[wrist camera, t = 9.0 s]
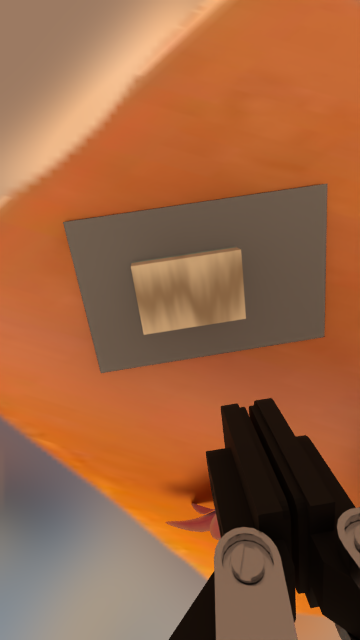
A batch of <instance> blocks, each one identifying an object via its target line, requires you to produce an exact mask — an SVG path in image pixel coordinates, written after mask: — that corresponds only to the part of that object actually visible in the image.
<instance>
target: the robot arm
mask: <svg viewBox="0 0 360 640" xmlns="http://www.w3.org/2000/svg"><path fill="white" fill-rule="evenodd" d="M221 415H222V424H223V433H224V442H225V449H219V450H213V451H206V458H207V465H208V472H209V479H210V485H211V490H212V496H213V501H214V506H215V511H216V516H217V521H218V526H219V531H220V536H221V539H220V540H219V542H218V544H217V546H216V549H215V556H214V570H215V571H214V572H213V574H212V575H211V577H210V578H209V580H208V581H207V583H206V584H205V586H204V587H203V589H202V590H201V592H200V593H199V595H198V596H197V598H196V599H195V601H194V602H193V604H192V605H191V607H190V609H189V610H188V611H187V613H186V614H185V616H184V618H183V619H182V620H181V622H180V623H179V625H178V626H177V628H176V630H175V631H174V632H173V634H172V635H171V637H170V639H169V640H298V639H297V634H296V630H295V625H294V622H295V620H296V603H295V588H296V590H297V592H298V593H299V594H300V593H305V595H306V597H307V600H308V603H309V605H310V608H314V607H320V609H321V612H322V614H323V615H324V616H326V617H327V618H329V619H330V620H331V621H333V622H334V623H335V626H336V628H337V631H338V633H339V635H340V637H341V639H342V640H360V507H359V508H355V506H354V504H353V503H352V501H351V500H350V498H349V497H348V495H347V494H346V492H345V491H344V489H343V488H342V486H341V485H340V483H339V482H338V480H337V479H336V477H335V476H334V474H333V473H332V471H331V470H330V468H329V467H328V465H327V464H326V462H325V461H324V459H323V458H322V456H321V455H320V453H319V452H318V450H317V449H316V447H315V446H314V444H313V443H312V441H311V440H310V439H309V437H308V436H306V435H304V436H298V437H295V435H294V433H293V432H292V430H291V429H290V427H289V425H288V424H287V422H286V420H285V419H284V417H283V415H282V414H281V412H280V410H279V409H278V407H277V405H276V404H275V402H274V401H273V399H272V398H268V399H262V400H256V401H254V406H249V415H248V413H247V410H246V408H245V407H241V408H239V405H238V404H231V405H225V406H221ZM249 416H250V417H249Z"/></svg>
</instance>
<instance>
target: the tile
mask: <svg viewBox="0 0 360 640" xmlns="http://www.w3.org/2000/svg"><path fill="white" fill-rule="evenodd" d="M131 271H132V276H133V281H134V286H135V292H136V297H137V302H138V307H139V313H140V318H141V323H142V328H143V334H144V335H146V334H153V333H159V332H165V331H171V330H178V329H184V328H190V327H197V326H203V325H209V324H216V323H222V322H228V321H235V320H241V319H246V312H245V297H244V283H243V269H242V255H241V249H239V248H237V247H229V248H222V249H216V250H209V251H202V252H196V253H189V254H183V255H176V256H169V257H163V258H156V259H149V260H143V261H136V262H132V264H131Z"/></svg>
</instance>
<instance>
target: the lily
mask: <svg viewBox="0 0 360 640" xmlns="http://www.w3.org/2000/svg"><path fill="white" fill-rule="evenodd" d="M192 506H193V508H194V509H195V510H196V511H197V512H199V513H200V514H206V513H209V512H211V511H213V510H215V509H209V508H206V507H203V506H200V505H197V504H194V503H192ZM166 523H167V524H169V525H172V526H174V527H178V528H181V529H185V530H190V531H198V532H204V531H210V532H211V535H212V537H213V538H214V539H217V540H220V539H221V536H220V531H219V526H218V521H217V516H216V511H213V512H211V513H209V514H207V515H204V516H202V517H199V518H196V519H192V520H188V521H172V522H166Z"/></svg>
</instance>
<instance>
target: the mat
mask: <svg viewBox="0 0 360 640" xmlns="http://www.w3.org/2000/svg"><path fill="white" fill-rule="evenodd" d="M63 224H64V228H65V232H66V236H67V240H68V244H69V248H70V252H71V256H72V260H73V264H74V268H75V272H76V276H77V280H78V284H79V288H80V292H81V296H82V300H83V304H84V307H85V311H86V315H87V319H88V323H89V327H90V331H91V335H92V339H93V343H94V347H95V351H96V355H97V359H98V363H99V367H100V371H101V373H105V372H111V371H117V370H123V369H129V368H136V367H142V366H148V365H154V364H160V363H166V362H173V361H179V360H185V359H191V358H197V357H204V356H210V355H216V354H222V353H228V352H235V351H241V350H247V349H253V348H259V347H265V346H272V345H278V344H284V343H290V342H296V341H303V340H309V339H315V338H321V337H324V329H325V278H326V227H327V184H321V185H314V186H307V187H300V188H293V189H286V190H280V191H273V192H266V193H259V194H252V195H245V196H238V197H232V198H225V199H218V200H211V201H204V202H197V203H190V204H184V205H177V206H170V207H163V208H156V209H149V210H142V211H136V212H129V213H122V214H115V215H108V216H101V217H94V218H88V219H81V220H74V221H67V222H63ZM229 247H237V248H239V249H241V255H242V269H243V283H244V297H245V312H246V319H241V320H235V321H228V322H222V323H216V324H209V325H203V326H197V327H190V328H184V329H178V330H171V331H165V332H159V333H153V334H146V335H144V334H143V328H142V323H141V318H140V313H139V307H138V302H137V297H136V292H135V286H134V281H133V276H132V271H131V264H132V262H136V261H143V260H149V259H156V258H163V257H169V256H176V255H183V254H189V253H196V252H202V251H209V250H216V249H222V248H229Z"/></svg>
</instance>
